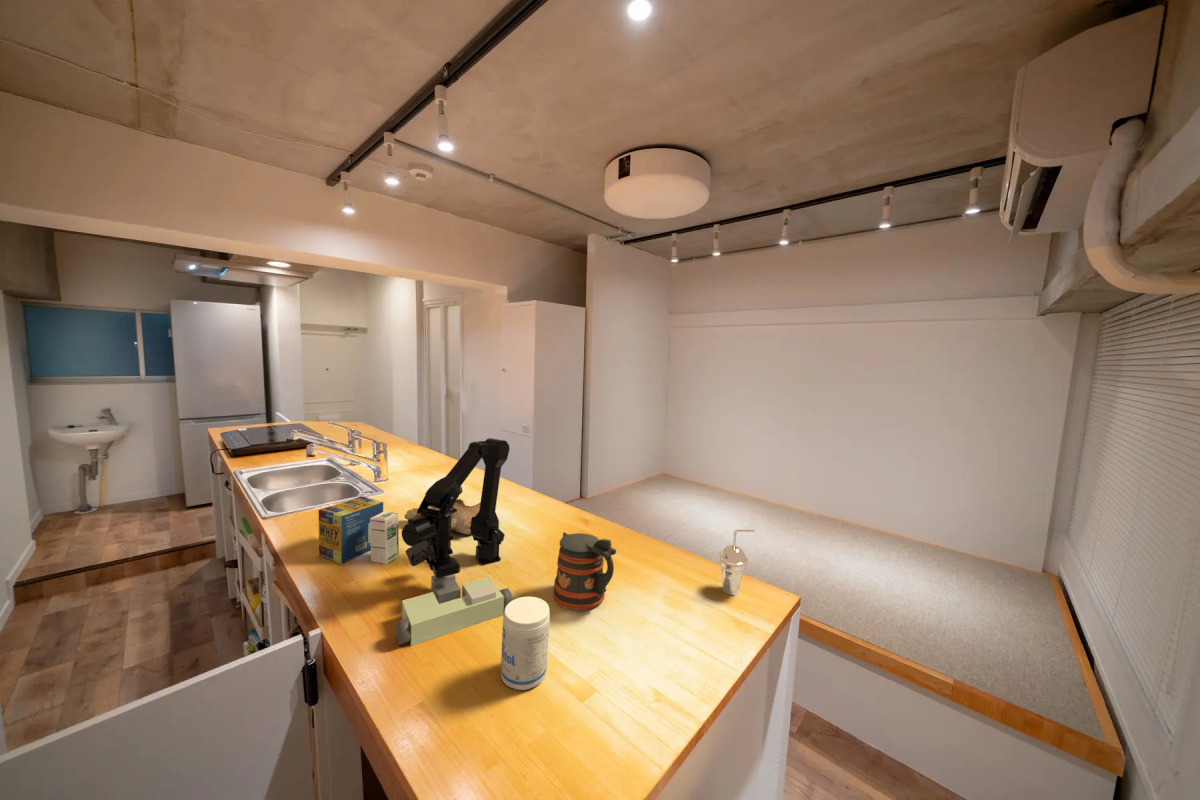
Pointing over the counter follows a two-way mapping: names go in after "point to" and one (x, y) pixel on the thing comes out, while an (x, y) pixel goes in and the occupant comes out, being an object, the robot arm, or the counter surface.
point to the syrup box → (384, 537)
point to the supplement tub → (525, 642)
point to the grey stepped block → (445, 588)
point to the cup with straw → (733, 566)
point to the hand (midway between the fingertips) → (439, 585)
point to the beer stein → (582, 571)
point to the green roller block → (450, 611)
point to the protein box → (347, 528)
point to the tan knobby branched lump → (455, 515)
